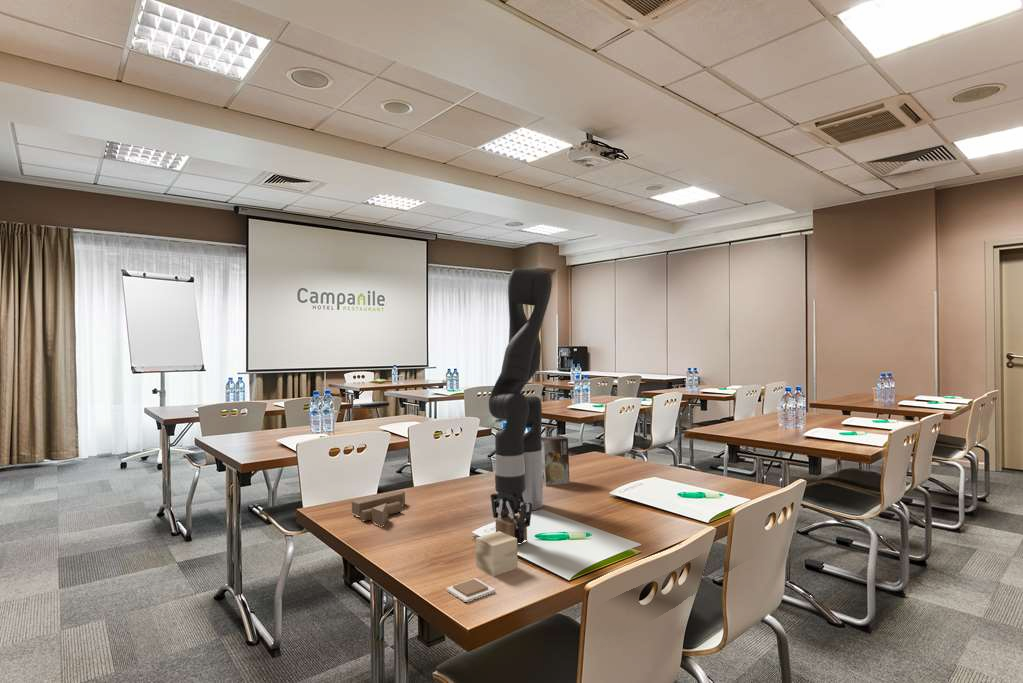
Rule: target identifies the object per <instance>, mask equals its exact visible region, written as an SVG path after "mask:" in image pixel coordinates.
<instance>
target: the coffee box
mask: <svg viewBox="0 0 1023 683" xmlns="http://www.w3.org/2000/svg"><path fill="white" fill-rule="evenodd" d="M541 445H542V485H544V486H545V487H549V486H559V485H561V486H562V485H568V484H570V481H571V480H570V478H571V477H570V457H569V438H568V437H566V436H563V435H559V436H558V435H555V436H544V437H543V436H541Z"/></svg>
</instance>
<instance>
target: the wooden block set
mask: <svg viewBox="0 0 1023 683" xmlns="http://www.w3.org/2000/svg"><path fill="white" fill-rule="evenodd" d="M405 504H406V492H405V491H404V490H398V491H394V492H387V493H384V494H376V495H374V496H368V497H364V498H360V499H355V500H352V501H351V514H352V513H354V514H356V515H358V516H360V518H359V519H360V520H361V519H362V520H364V521H367V520H370V519H372V520H370V521H371V522H374V523H376V524H378V525H380V526H382V527H383V525H384V524H385V525H386V523H387V522H388V516H387V515H389V516H391V515H390V514H393V515H395V514H394V513H397V514H399V513H398V512H400V513H401V512H402V511H403V510H402V509H403V507H402V505H404V506H405ZM362 520H361V521H362ZM367 522H368V521H367ZM385 522H386V523H385ZM385 525H384V526H385ZM382 527H381V528H382ZM383 528H384V527H383Z"/></svg>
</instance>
